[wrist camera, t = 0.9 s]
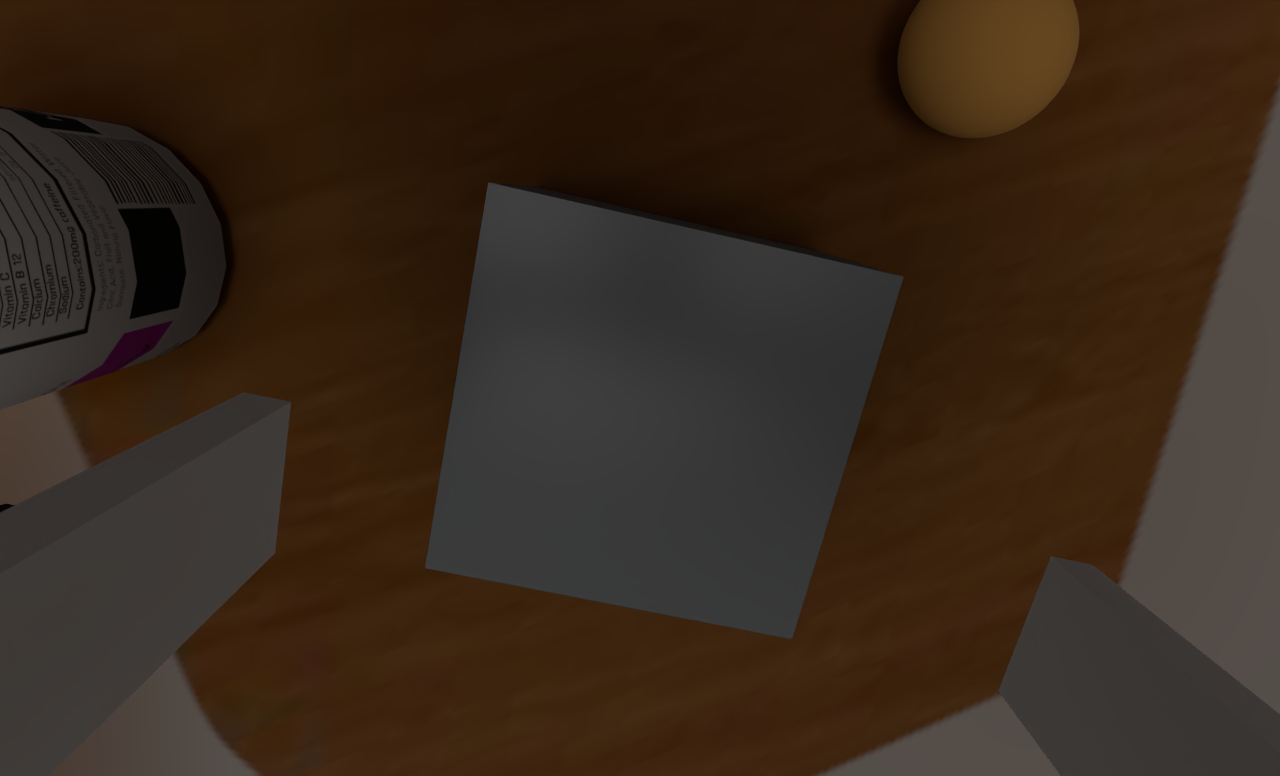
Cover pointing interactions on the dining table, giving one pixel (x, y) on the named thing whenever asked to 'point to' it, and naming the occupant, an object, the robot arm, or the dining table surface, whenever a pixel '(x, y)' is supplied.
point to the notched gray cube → (652, 409)
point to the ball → (985, 62)
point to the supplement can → (96, 252)
